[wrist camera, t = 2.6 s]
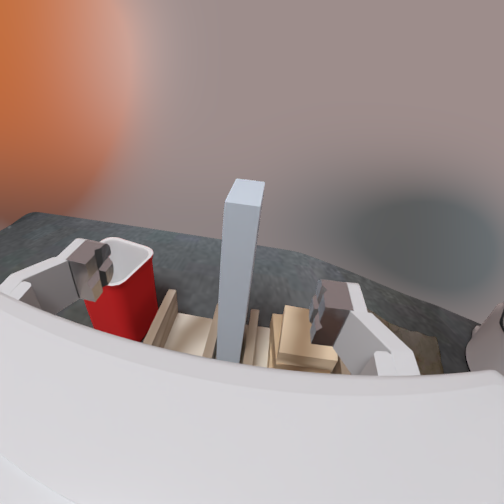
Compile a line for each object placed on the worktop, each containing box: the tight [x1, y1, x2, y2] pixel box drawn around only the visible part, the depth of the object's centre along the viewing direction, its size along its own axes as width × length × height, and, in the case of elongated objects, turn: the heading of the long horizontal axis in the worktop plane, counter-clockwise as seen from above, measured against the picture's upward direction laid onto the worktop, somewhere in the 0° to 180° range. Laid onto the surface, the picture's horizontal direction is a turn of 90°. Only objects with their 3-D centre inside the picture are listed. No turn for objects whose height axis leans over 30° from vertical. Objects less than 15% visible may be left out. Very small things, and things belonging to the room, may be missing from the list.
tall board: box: [216, 179, 265, 363], centre depth 27 cm, size 2×6×20 cm, turn 174°
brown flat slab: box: [350, 309, 444, 375], centre depth 33 cm, size 17×15×4 cm
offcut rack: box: [143, 289, 351, 375], centre depth 32 cm, size 22×10×6 cm, turn 84°
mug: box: [84, 237, 158, 342], centre depth 34 cm, size 12×8×11 cm
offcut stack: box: [267, 305, 338, 374], centre depth 31 cm, size 7×8×6 cm
